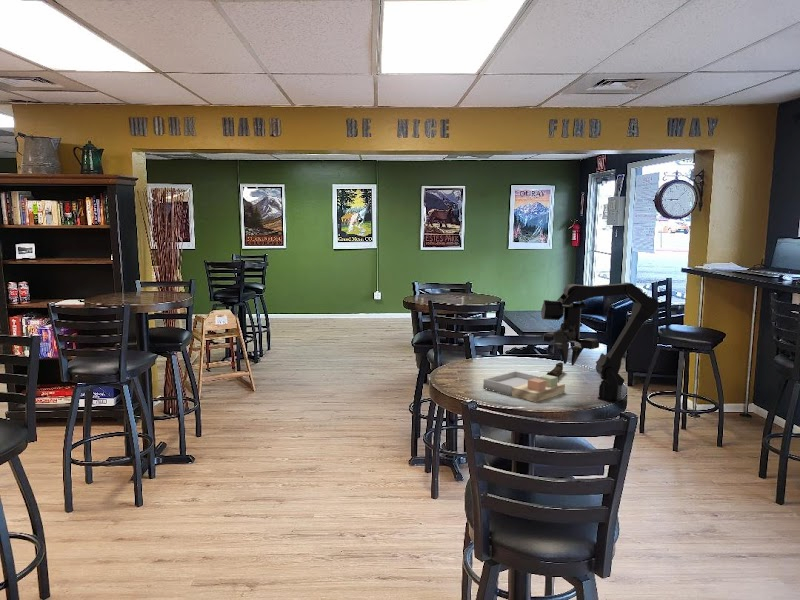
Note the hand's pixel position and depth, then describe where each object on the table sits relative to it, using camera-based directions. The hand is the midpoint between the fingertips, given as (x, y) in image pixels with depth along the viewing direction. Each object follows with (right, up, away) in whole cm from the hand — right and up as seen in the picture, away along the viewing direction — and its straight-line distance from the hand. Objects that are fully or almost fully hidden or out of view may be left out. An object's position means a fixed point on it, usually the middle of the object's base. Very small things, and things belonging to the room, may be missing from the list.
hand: (568, 364), depth 197 cm
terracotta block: (-11, -9, +1) cm, 14 cm away
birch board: (-9, -11, +5) cm, 16 cm away
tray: (-17, -10, +13) cm, 24 cm away
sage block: (-5, -8, +6) cm, 12 cm away
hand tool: (+4, -9, +32) cm, 33 cm away
